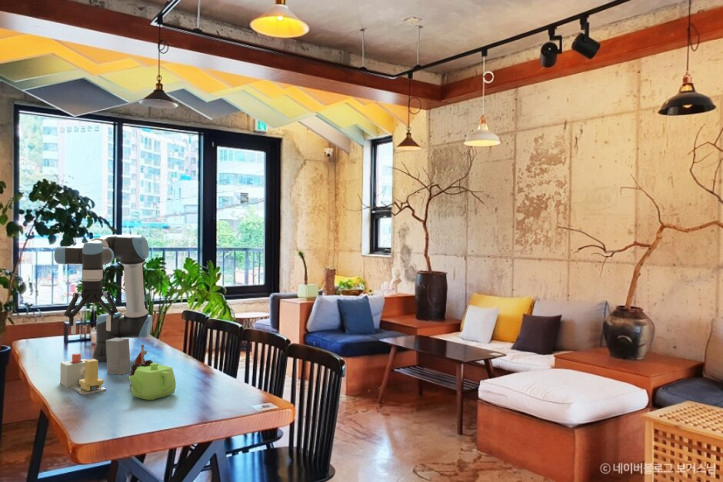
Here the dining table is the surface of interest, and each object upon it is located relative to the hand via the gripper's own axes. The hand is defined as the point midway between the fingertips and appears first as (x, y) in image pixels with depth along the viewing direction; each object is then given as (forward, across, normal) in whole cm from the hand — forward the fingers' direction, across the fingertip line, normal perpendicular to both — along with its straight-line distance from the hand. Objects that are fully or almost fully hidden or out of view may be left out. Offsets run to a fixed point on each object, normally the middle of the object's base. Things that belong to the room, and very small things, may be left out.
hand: (91, 332), depth 224 cm
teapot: (+24, -13, +25) cm, 37 cm away
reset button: (+16, 0, -16) cm, 23 cm away
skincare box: (+24, -20, -21) cm, 38 cm away
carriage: (+22, 0, +1) cm, 22 cm away
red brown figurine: (+24, -17, +10) cm, 31 cm away
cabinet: (+24, 0, -16) cm, 28 cm away
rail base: (+24, 0, -3) cm, 24 cm away
